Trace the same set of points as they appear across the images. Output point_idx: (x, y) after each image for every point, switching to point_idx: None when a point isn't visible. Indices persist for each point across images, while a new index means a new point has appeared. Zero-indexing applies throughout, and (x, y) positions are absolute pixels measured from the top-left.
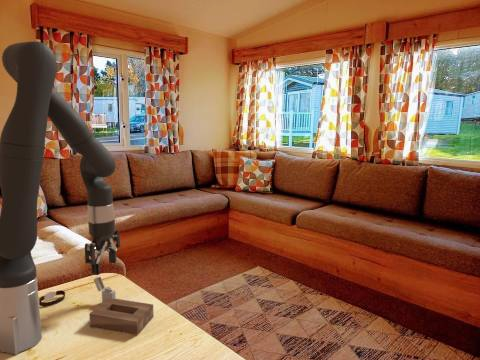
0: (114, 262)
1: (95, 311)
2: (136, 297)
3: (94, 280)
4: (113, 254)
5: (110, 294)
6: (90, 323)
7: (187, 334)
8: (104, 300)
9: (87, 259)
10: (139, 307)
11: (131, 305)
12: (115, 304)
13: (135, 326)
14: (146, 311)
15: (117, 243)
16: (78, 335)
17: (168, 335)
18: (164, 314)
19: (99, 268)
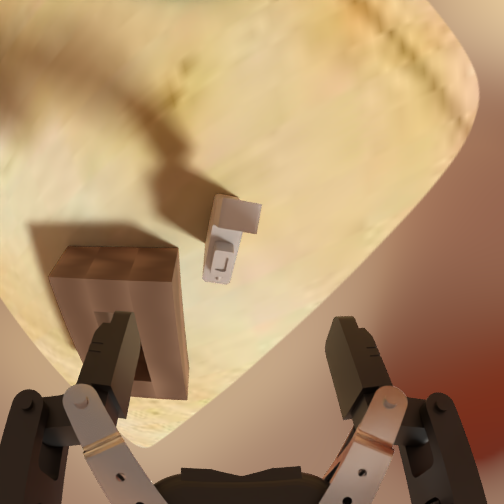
0: (327, 349)
1: (67, 287)
2: (290, 290)
3: (222, 202)
4: (343, 399)
5: (203, 270)
6: (63, 255)
7: (158, 419)
8: (211, 216)
9: (24, 427)
10: (156, 381)
11: (155, 364)
12: (137, 324)
13: None
14: (147, 397)
15: (403, 464)
16: (26, 239)
17: (138, 401)
18: (210, 381)
19: (130, 380)
